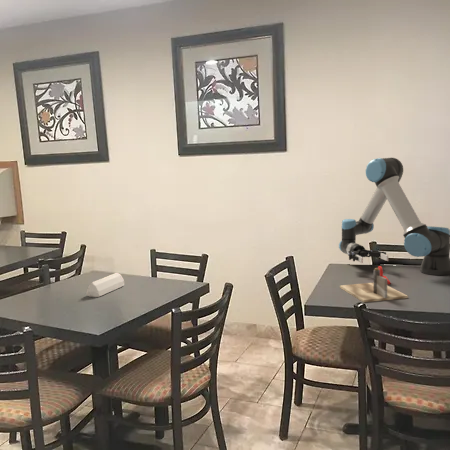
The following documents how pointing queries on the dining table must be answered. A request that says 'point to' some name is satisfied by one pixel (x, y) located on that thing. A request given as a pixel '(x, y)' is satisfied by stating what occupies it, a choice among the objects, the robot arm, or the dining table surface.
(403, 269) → the dining table surface
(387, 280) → the bracket
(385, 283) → the hinge mount
